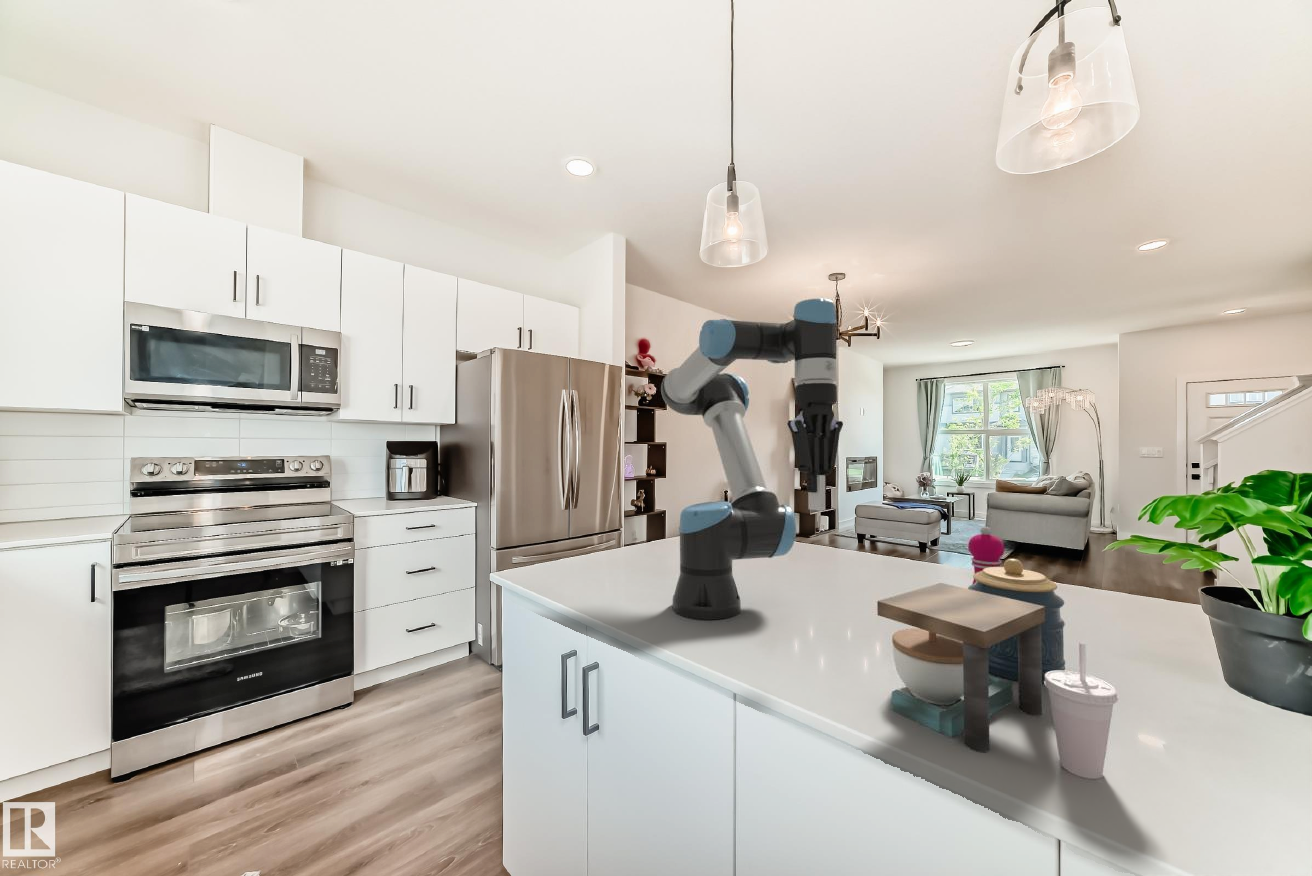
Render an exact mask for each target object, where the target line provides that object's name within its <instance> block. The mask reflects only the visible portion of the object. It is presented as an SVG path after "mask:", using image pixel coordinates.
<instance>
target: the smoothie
mask: <svg viewBox="0 0 1312 876" xmlns="http://www.w3.org/2000/svg"><path fill="white" fill-rule="evenodd" d="M1078 652H1079V655H1078V657H1079V658H1078V663H1079V665H1078V666H1079V669H1078V670H1079V672H1076V671H1072V670H1065V671H1063V670H1055V671H1049V672H1047V673H1046V674H1045V681H1044V683H1043V684H1044V686H1045V687H1046V688H1047V690H1048V696H1049V702H1050V708H1051V714H1052V721H1053V727H1054V732H1055V733H1054V734H1055V739H1056V745H1057V751H1058V758H1059V764H1060V766H1061V767H1063V768H1064V769H1065V770H1066V771H1068V772H1070V773H1072V774H1073V775H1075V776H1079V777H1081V778H1086V779H1091V780H1098V779H1101V778H1102V777H1103V773H1104V768H1105V760H1106V753H1107V748H1108V747H1107V746H1108V742H1109V733H1110V727H1111V722H1112V715H1113V709H1114V708H1113V707H1114V704H1116V703H1117V702H1118V700H1119V699H1118V691H1117V689H1116V688H1115V686H1113V685H1112V684H1110V683H1108V682H1107V681H1105V680H1103V679H1101V678H1097V677H1096V676H1092V675H1089V674H1087V670H1086V669H1087V664H1086V663H1087V662H1086V661H1087V660H1086V659H1087V657H1086V642H1082V641H1079V642H1078Z"/></svg>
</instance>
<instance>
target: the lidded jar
mask: <svg viewBox="0 0 1312 876" xmlns="http://www.w3.org/2000/svg"><path fill="white" fill-rule="evenodd" d="M891 636H892V637H891V640H892V647H893V648H892V649H893V660H894V666H895V669H896V672H897V674H898V677H899V679H900V680H901V682H902V684H903V685H904V686H906V688H907V689H908V690H909V691H910V695H911V694H912V695H911V696H913V697H916V698H918V699H920V700H923V701H925V702H927V703H930V704H932V705H940V706H950V704H951V705H954V704H956V703H957V702H958V700H959V699H961V698H962V697H964V686H963V642H962V641H958V640H955V639H952V638H949V637H946V636H942V635H939V634H936V633H933V632H930V631H926V630H923V629H920V628H904V629H901V630H897V631H895V632H894V633H893V634H892V635H891ZM956 701H957V702H956ZM955 702H956V703H955Z"/></svg>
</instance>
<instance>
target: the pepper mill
mask: <svg viewBox="0 0 1312 876" xmlns="http://www.w3.org/2000/svg"><path fill="white" fill-rule="evenodd" d="M980 533H981V534H980ZM980 533H979V534H976V535H974V536H972V537H970V539H969V540H968V544H967V545H968V546H967V547H968V548H967V549H968V551H969V553H970V554H971V555H972V557H971V559H970V560H971V563H970V564H971V566H973V567H974V568H973V570H974V573H973V575H974V574H975V573H977V572H980V571H982V570H983V569H985V568H988V567H1002V560H1000V559H1001V558H1002V556H1003V555H1005V546H1004V543H1003V542H1002V540H1001V539H1000V538H999V537H997V536H996V535H995V536H994V535H992V534H991V533H992V530H991V528H990V527H988V526H982V527H981V528H980ZM975 583H976V580H975V579H974V578H973V581H972V584H971V585H973V584H975Z"/></svg>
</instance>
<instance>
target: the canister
mask: <svg viewBox="0 0 1312 876" xmlns="http://www.w3.org/2000/svg"><path fill="white" fill-rule="evenodd" d="M972 577H973V580H974V579H975V580H976V583H975V584H973V583H972V584H973V585H972V584H971V585H970V586H969V585H968V587H967V589H970V590H974V591H979V592H983V593H988V594H992V595H997V596H1001V597H1005V598H1010V599H1014V600H1019V601H1023V602H1027V603H1032V604H1036V605H1041V606H1045V622H1042V623H1041V656H1042V684H1044V681H1045V674H1046V673H1047V672H1049V671H1055V670H1063V671H1066V660H1065V652H1064V651H1065V649H1064V646H1065V645H1064V628H1065V627H1066V622H1065V620H1063V619H1062V616H1061V609H1062V607H1064V605H1065V600H1064V599H1063V598H1062V597H1060V596H1059V595H1058V594H1056V592H1055V591H1056V590H1057V589H1058V584H1057V583H1056V582H1054V581H1052V580H1051V579H1049V578H1047V576H1046V575H1044V574H1042V573H1040V572H1038V571H1037V572H1036V571H1033V570H1028V569H1024V565H1023V563H1022V562H1021V561H1020V560H1019V559H1016V558H1008V559H1006V560H1005V561H1004V563H1003V566H1001V567H988V568H985V569H983V570H982V571H980V572H977V573H975V574H974V573H973V575H972ZM988 673H990V674H993V675H996V676H999V677H1001V678H1005V679H1009V680H1013V681H1017V682H1018V634H1016V635H1014V636H1012V637H1009V638H1007V639H1005V640H1003V641H1000V642H998V643H996V644H994V645H992V646H989V647H988Z"/></svg>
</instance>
